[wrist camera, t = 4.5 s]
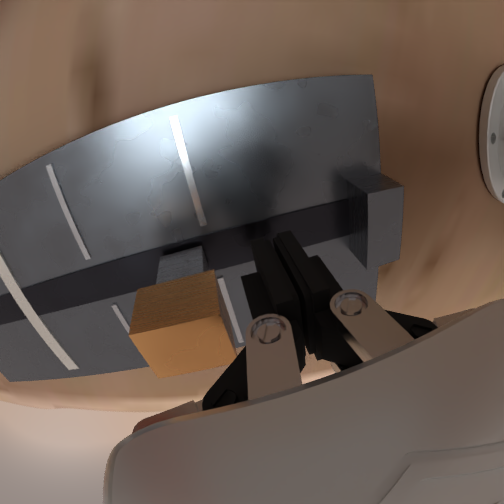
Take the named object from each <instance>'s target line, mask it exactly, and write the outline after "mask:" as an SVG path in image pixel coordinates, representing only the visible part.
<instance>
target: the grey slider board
mask: <svg viewBox="0 0 504 504" xmlns="http://www.w3.org/2000/svg"><path fill="white" fill-rule="evenodd" d="M403 202H404V186H403V185H401V184H399V183H398V182H396V181H394V180H392V179H390V178H389V177H387V176H385V175H383V174H381V168H380V146H379V131H378V118H377V108H376V99H375V90H374V83H373V75H342V76H326V77H314V78H304V79H295V80H287V81H279V82H272V83H266V84H260V85H254V86H248V87H243V88H238V89H233V90H228V91H223V92H219V93H214V94H210V95H206V96H202V97H198V98H194V99H190V100H186V101H183V102H179V103H176V104H172V105H169V106H165V107H162V108H159V109H156V110H152V111H149V112H146V113H143V114H140V115H137V116H135V117H132V118H129V119H126V120H123V121H121V122H118V123H115V124H113V125H110V126H108V127H105V128H103V129H100V130H98V131H95V132H93V133H91V134H88V135H86V136H84V137H81V138H79V139H77V140H75V141H73V142H70V143H68V144H66V145H64V146H62V147H60V148H58V149H56V150H54V151H52V152H50V153H48V154H46V155H44V156H42V157H40V158H38V159H36V160H35V161H33V162H31V163H29V164H27V165H25V166H24V167H22V168H20V169H18V170H17V171H15V172H13V173H12V174H10V175H8V176H7V177H5V178H3V179H2V180H0V372H1V373H2V374H3V375H4V376H5V377H6V378H7V379H8V380H9V381H10V382H15V381H34V380H48V379H60V378H70V377H79V376H88V375H96V374H104V373H111V372H118V371H124V370H131V369H137V368H143V367H149V365H148V363H147V362H146V360H145V359H144V357H143V356H142V355H141V353H140V352H139V350H138V349H137V347H136V346H135V344H134V343H133V341H132V340H131V338H130V337H129V330H130V324H131V319H132V313H133V308H134V303H135V299H136V294H137V289H140V288H144V287H148V286H152V285H156V281H157V274H158V268H159V261H160V257H162V256H165V255H169V254H173V253H176V252H180V251H184V250H187V249H191V248H195V247H198V246H202V248H203V252H204V255H205V258H206V261H207V264H208V267H209V270H213V269H214V271H215V274H216V277H217V280H218V283H219V287H220V290H221V293H222V296H223V298H224V301H225V304H226V307H227V310H228V313H229V316H230V321H231V327H232V332H233V337H234V343H235V348H238V347H242V346H246V335H245V334H246V328H247V327H248V325H249V323H250V322H251V321H253V319H252V316H251V313H250V309H249V306H248V302H247V298H246V295H245V291H244V288H243V284H242V280H241V276H244V275H247V274H251V273H255V272H257V270H256V266H255V262H254V257H253V253H252V249H251V244H250V241H251V240H255V239H258V238H262V237H263V238H264V240H268V239H269V240H270V242H271V244H272V246H273V247H274V244H273V238H276V237H277V233H281V232H285V231H288V230H290V231H291V232H292V233H293V235H294V236H295V238H296V239H297V241H298V242H299V243H300V245H301V246H302V248H303V249H304V251H305V252H306V254H307V255H308V257H311V256H315V255H318V256H319V257H320V258H321V260H322V261H323V262H324V264H325V265H326V267H327V268H328V269H329V271H330V272H331V274H332V275H333V276H334V278H335V279H336V281H337V282H338V283H339V285H340V286H341V288H342V289H343V290H348V289H355V290H360V291H363V292H365V293H366V294H368V295H369V296H370V297H371V298H372V299H373V300H374V301H375V300H376V290H377V280H378V267H379V266H381V265H384V264H387V263H390V262H393V261H396V260H399V257H400V247H401V235H402V221H403Z"/></svg>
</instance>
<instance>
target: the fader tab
mask: <svg viewBox="0 0 504 504" xmlns="http://www.w3.org/2000/svg"><path fill="white" fill-rule="evenodd" d="M129 337H130V338H131V340H132V341H133V343H134V344H135V346H136V347H137V349H138V350H139V352H140V353H141V355H142V356H143V357H144V359H145V360H146V362H147V363H148V365H149V366H150V367H151V369H152V370H153V371H154V373H155V374H156V375H157V377H158V378H164V377H170V376H175V375H181V374H186V373H191V372H196V371H201V370H205V369H210V368H215V367H219V366H223V365H228V364H231V363H232V362H233V361H234V360H235V358H236V357H237V353H236V348H235V343H234V337H233V332H232V327H231V321H230V316H229V313H228V310H227V307H226V304H225V301H224V298H223V296H222V293H221V290H220V287H219V283H218V280H217V277H216V274H215V271H214V269H213V270H209V267H208V264H207V261H206V258H205V255H204V252H203V248H202V246H198V247H195V248H191V249H187V250H184V251H180V252H176V253H173V254H169V255H165V256H162V257H160V261H159V268H158V274H157V281H156V285H152V286H148V287H144V288H140V289H137V294H136V299H135V303H134V308H133V313H132V319H131V324H130V330H129Z"/></svg>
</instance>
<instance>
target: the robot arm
mask: <svg viewBox="0 0 504 504" xmlns="http://www.w3.org/2000/svg"><path fill="white" fill-rule="evenodd" d="M479 154H480V162H481V169H482V173H483V177H484V181H485V183H486V185H487V188H488V190H489V191H490V193H491V194H492V196H493V197H495V198H496V199H497V200H499V201H501V202H503V203H504V65H502V66H500V67H499V68H498V69H497V70H496V71H495V72H494V73H493V75H492V77H491V78H490V80H489V82H488V85H487V88H486V91H485V94H484V97H483V102H482V107H481V115H480V123H479ZM250 244H251V249H252V253H253V257H254V262H255V266H256V270H257V272H255V273H251V274H247V275H244V276H241V280H242V284H243V288H244V291H245V295H246V298H247V302H248V306H249V309H250V313H251V316H252V319H253V321H251V322H250V323H249V325H248V327H247V328H246V334H245V335H246V346H245V347H244V349H243V350H242V351H241V352H240V353H239V355H238V356H237V357H236V358H235V360H234V361H233V362H232V363H231V364H230V366H229V367H228V368H227V369H226V370H225V372H224V373H223V374H222V375H221V376H220V378H219V379H218V380H217V381H216V382H215V384H214V385H213V386H212V387H211V388H210V389H209V391H208V392H207V393H206V395H205V396H204V398H203V400H200V401H198V402H194V401H190V402H188V403H185V404H183V405H180V406H178V407H175V408H172V409H170V410H167V411H164V412H162V413H160V414H156V415H154V416H151V417H148V418H145V419H143V420H142V421H140V422H138V423H137V425H136V426H135V427H134V429H133V432H132V434H131V435H129V436H128V437H126V438H124V439H123V440H122V441H121V442H119V443H118V444H117V445H116V446H115V447H114V448H113V450H112V452H111V453H110V456H109V458H108V461H107V464H106V470H105V476H104V487H103V504H504V299H499V300H496V301H492V302H489V303H487V304H484V305H482V306H479V307H477V308H474V309H468V310H465V311H461V312H458V313H454V314H450V315H446V316H442V317H438V318H434V320H433V322H431V321H429V320H427V319H424V318H419V317H414V316H410V315H405V314H401V313H396V312H392V311H387V310H384V309H383V308H382V307H381V306H380V305H379V304H378V303H376V302H375V301H374V300H373V299H372V298H371V297H370V296H369V295H368V294H366V293H365V292H363V291H360V290H355V289H348V290H343V289H342V288H341V286H340V285H339V283H338V282H337V281H336V279H335V278H334V276H333V275H332V274H331V272H330V271H329V269H328V268H327V267H326V265H325V264H324V262H323V261H322V260H321V258H320V257H319V256H318V255H315V256H311V257H308V255H307V254H306V252H305V251H304V249H303V248H302V246H301V245H300V243H299V242H298V241H297V239H296V238H295V236H294V235H293V233H292V232H291V231H290V230H288V231H285V232H281V233H277V237H276V238H273V244H274V247H273V246H272V244H271V242H270V240H269V239H268V240H264V238H263V237H262V238H258V239H255V240H251V241H250ZM305 346H306V348H307V351H308V353H309V354H313V353H314V354H315V357H316V359H317V361H318V360H321V359H324V360H327V361H330V362H331V366H332V368H333V370H334V371H335V372H336V373H335V374H332V375H329V376H326V377H324V378H321V379H318V380H315V381H312V382H309V383H306V384H303V385H302V381H301V375H300V373H301V371H302V370H303V368H304V366H305V365H306V363H305V356H306V352H305Z"/></svg>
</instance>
